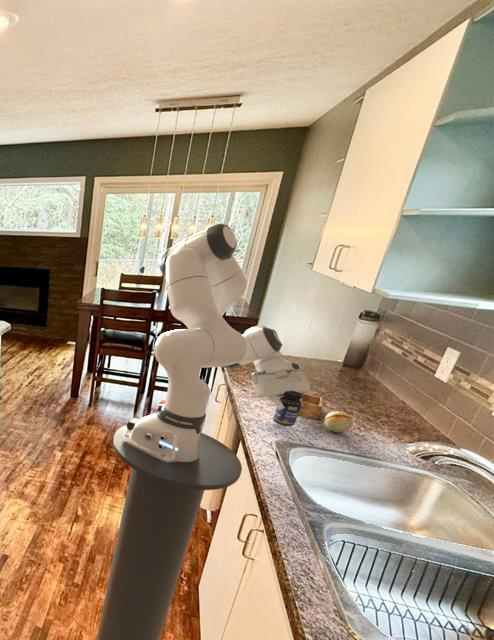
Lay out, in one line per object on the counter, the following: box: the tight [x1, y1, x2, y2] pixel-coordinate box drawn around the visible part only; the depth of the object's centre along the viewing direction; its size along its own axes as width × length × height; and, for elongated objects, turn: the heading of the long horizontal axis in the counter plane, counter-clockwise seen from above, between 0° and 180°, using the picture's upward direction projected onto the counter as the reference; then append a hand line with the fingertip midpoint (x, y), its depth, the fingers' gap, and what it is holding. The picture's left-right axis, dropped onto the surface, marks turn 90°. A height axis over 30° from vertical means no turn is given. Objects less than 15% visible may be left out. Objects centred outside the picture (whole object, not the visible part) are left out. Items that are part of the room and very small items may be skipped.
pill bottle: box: [272, 391, 302, 427], centre depth 131 cm, size 6×6×11 cm
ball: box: [323, 411, 353, 433], centre depth 131 cm, size 7×7×7 cm
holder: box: [298, 393, 324, 421], centre depth 146 cm, size 11×11×5 cm
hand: (291, 407), depth 130 cm, fingers closed on pill bottle, 6 cm apart
